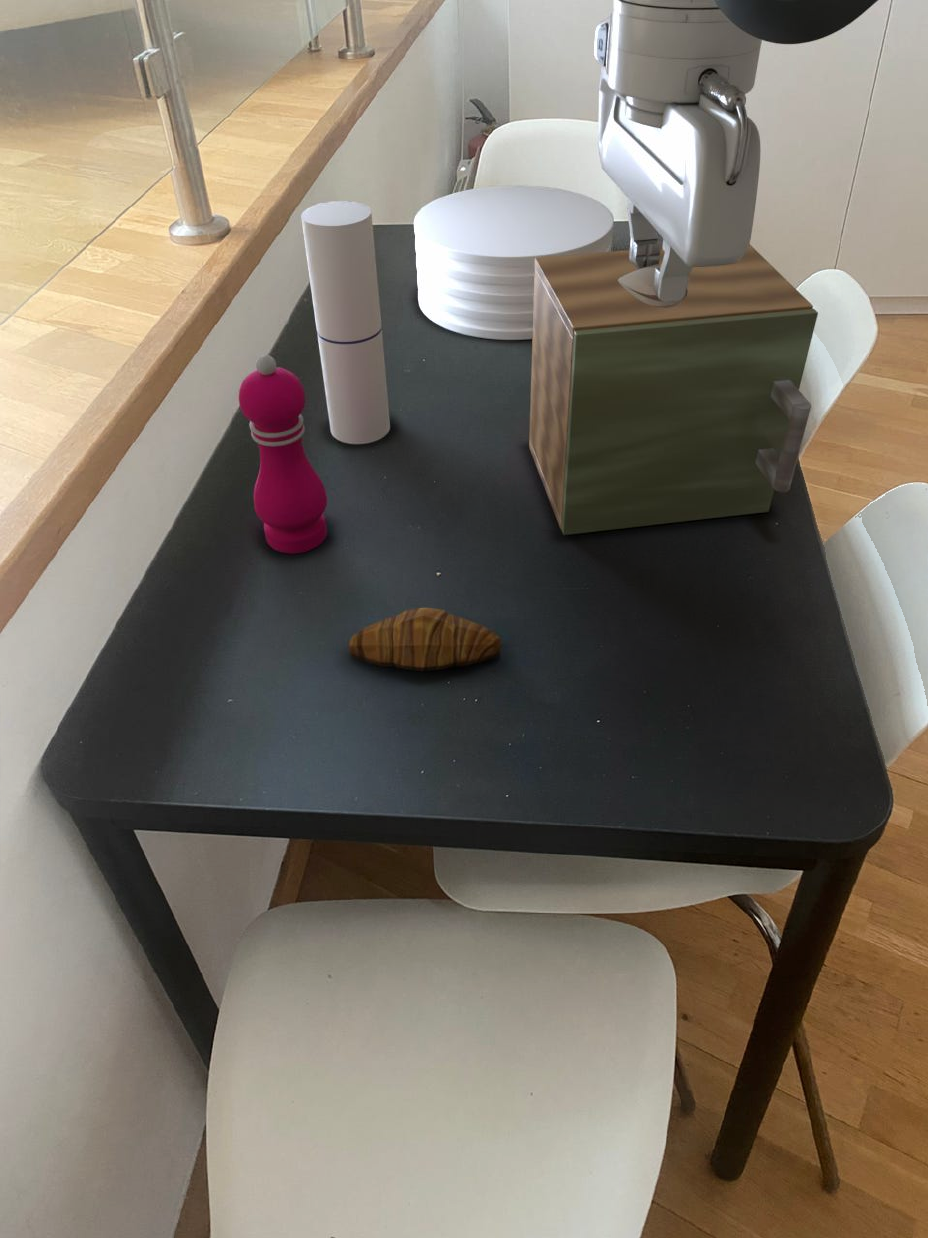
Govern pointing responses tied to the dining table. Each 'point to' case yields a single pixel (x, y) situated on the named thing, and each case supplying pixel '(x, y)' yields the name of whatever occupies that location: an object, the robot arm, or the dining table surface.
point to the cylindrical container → (348, 318)
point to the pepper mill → (283, 460)
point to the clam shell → (646, 286)
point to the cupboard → (595, 299)
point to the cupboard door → (684, 419)
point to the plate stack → (499, 253)
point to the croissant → (425, 641)
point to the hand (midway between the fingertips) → (655, 280)
